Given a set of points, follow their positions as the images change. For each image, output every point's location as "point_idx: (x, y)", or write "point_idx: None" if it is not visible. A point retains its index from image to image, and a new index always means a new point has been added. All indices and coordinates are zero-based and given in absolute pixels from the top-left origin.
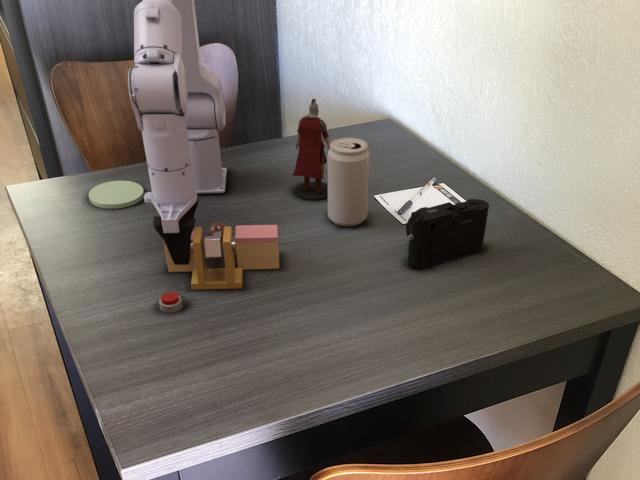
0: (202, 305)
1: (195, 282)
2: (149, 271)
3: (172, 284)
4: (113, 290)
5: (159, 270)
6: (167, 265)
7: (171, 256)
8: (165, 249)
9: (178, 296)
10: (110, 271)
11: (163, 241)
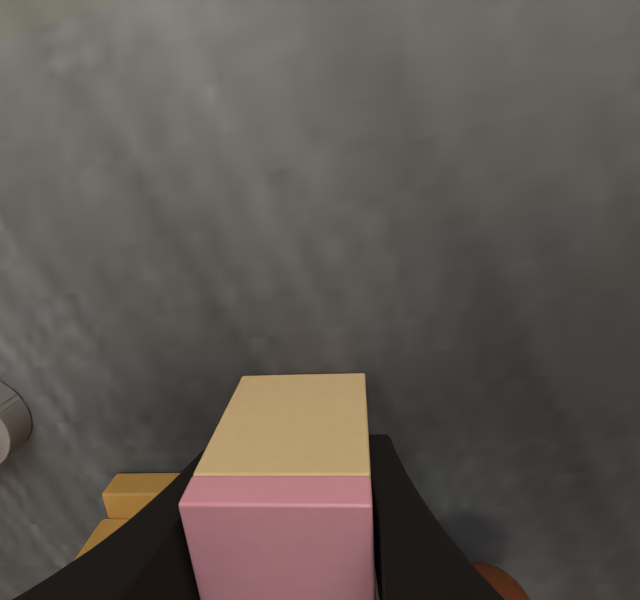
0: (29, 508)
1: (112, 509)
2: (241, 289)
3: (145, 401)
4: (38, 140)
5: (255, 334)
6: (235, 393)
7: (190, 465)
8: (204, 458)
9: (3, 456)
10: (221, 70)
11: (185, 495)
